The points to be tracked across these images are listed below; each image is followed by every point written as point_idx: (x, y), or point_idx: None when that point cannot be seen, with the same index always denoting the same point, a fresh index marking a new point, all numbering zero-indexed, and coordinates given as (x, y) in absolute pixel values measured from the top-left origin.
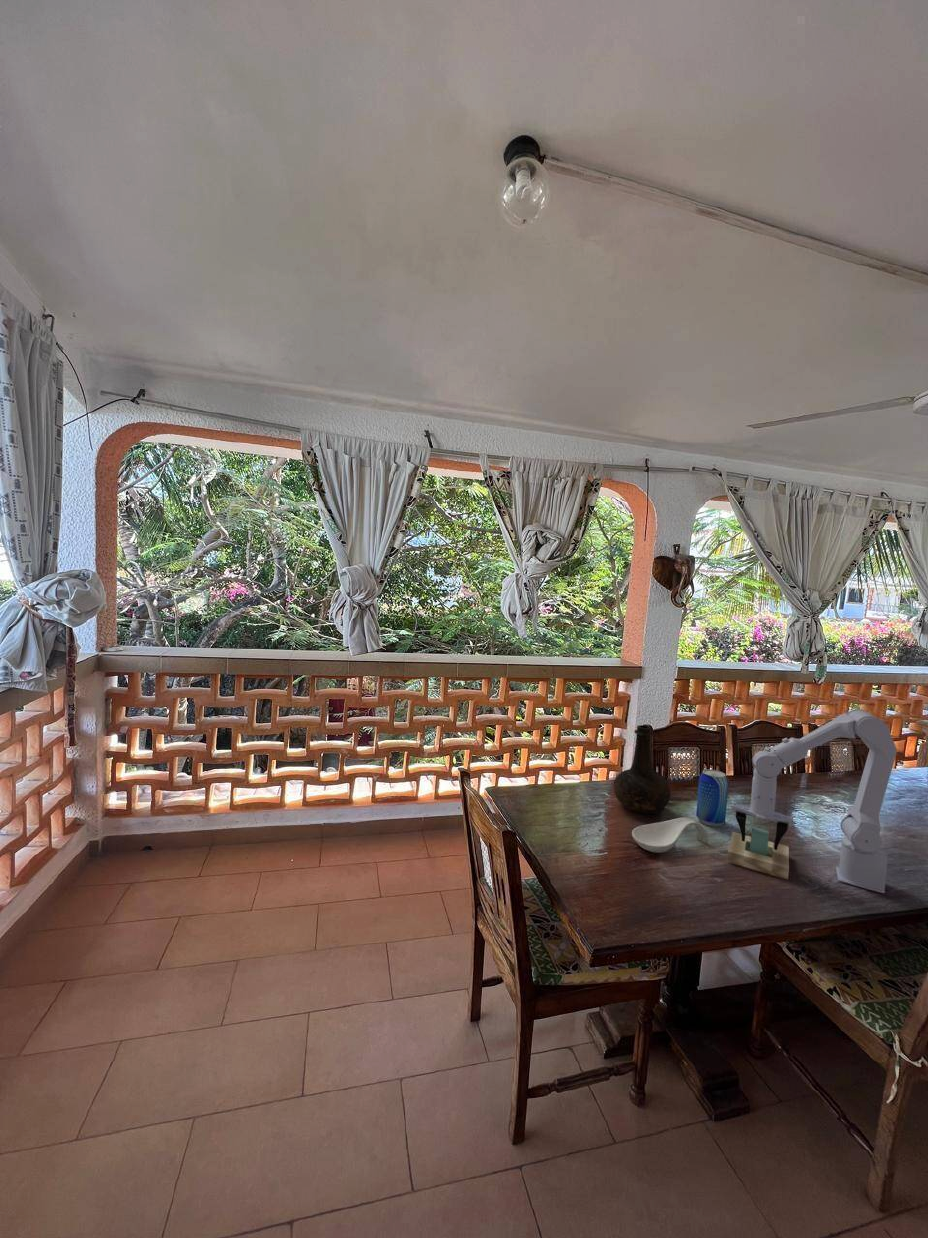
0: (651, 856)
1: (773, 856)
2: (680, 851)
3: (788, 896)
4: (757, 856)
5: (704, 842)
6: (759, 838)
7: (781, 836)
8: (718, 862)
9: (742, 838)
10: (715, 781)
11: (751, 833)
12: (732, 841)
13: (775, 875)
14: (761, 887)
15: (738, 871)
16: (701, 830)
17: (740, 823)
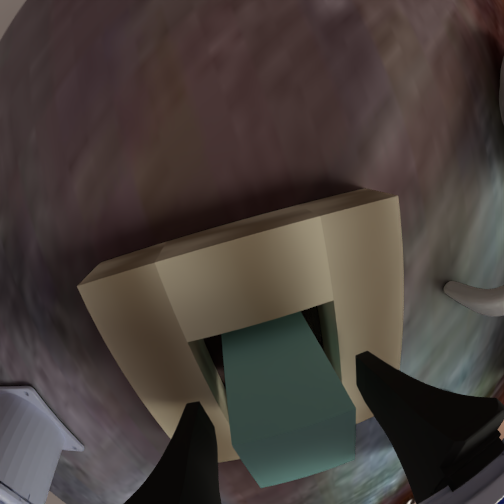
0: (496, 50)
1: (188, 359)
2: (484, 140)
3: (56, 103)
4: (253, 283)
5: (453, 281)
6: (288, 405)
7: (151, 479)
8: (389, 153)
9: (375, 357)
10: (499, 501)
11: (352, 402)
12: (395, 335)
13: (147, 248)
14: (160, 66)
15: (298, 132)
16: (496, 288)
17: (454, 404)
